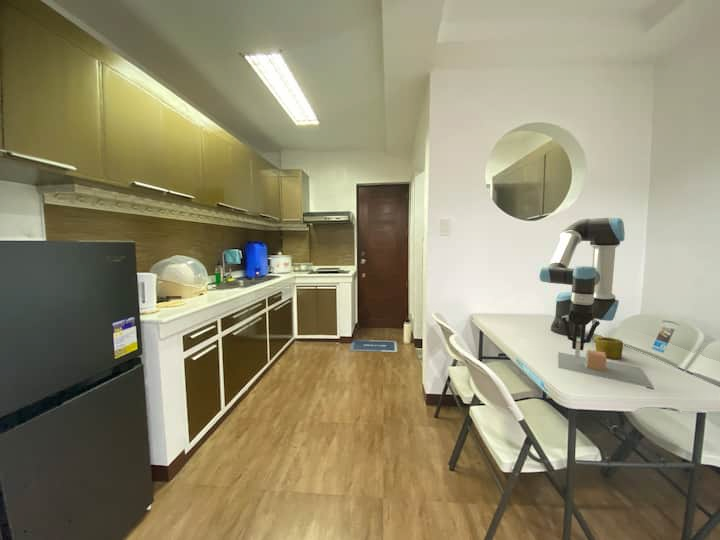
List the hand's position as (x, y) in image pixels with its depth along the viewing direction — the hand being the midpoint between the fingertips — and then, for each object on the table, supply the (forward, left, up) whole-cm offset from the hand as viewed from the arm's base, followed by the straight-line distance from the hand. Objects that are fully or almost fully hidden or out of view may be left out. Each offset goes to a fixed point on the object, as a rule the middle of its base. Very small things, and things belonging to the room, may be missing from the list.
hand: (576, 356), depth 121 cm
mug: (-20, +12, -4) cm, 23 cm away
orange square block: (0, +3, 0) cm, 3 cm away
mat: (0, +8, -3) cm, 8 cm away
